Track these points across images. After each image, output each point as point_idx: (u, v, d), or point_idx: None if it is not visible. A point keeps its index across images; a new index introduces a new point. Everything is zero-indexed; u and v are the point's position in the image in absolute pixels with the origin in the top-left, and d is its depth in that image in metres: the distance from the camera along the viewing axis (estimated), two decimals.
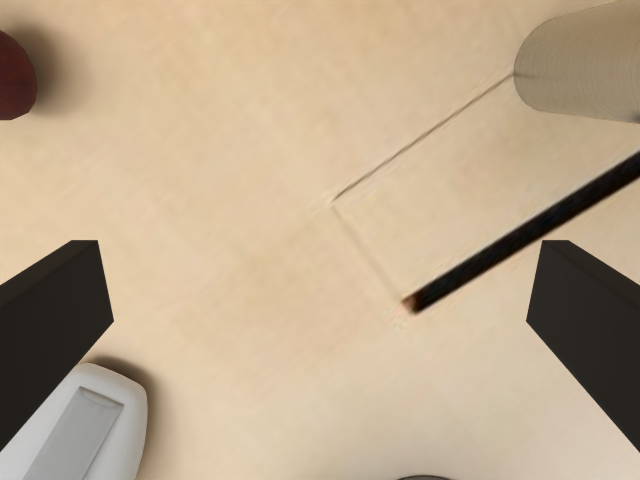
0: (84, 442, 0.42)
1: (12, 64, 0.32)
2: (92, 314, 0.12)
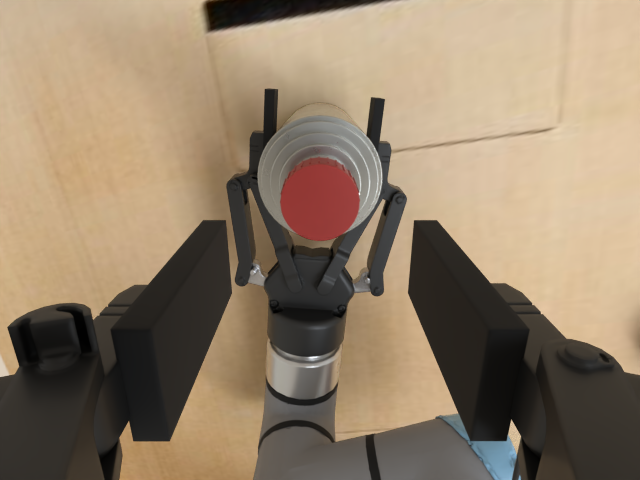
0: None
1: None
2: (224, 284, 0.13)
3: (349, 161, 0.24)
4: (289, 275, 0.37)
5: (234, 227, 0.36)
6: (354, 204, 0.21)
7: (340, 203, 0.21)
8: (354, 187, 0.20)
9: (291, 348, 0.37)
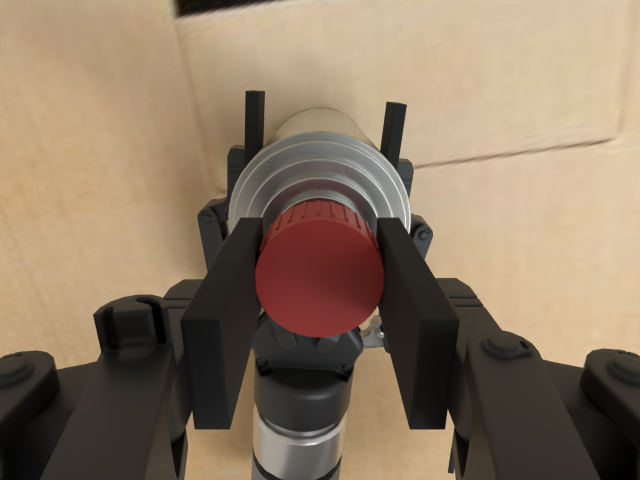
0: None
1: None
2: None
3: (364, 202, 0.15)
4: (281, 330, 0.29)
5: (209, 269, 0.28)
6: (376, 283, 0.13)
7: (354, 281, 0.12)
8: (377, 256, 0.12)
9: (283, 422, 0.29)
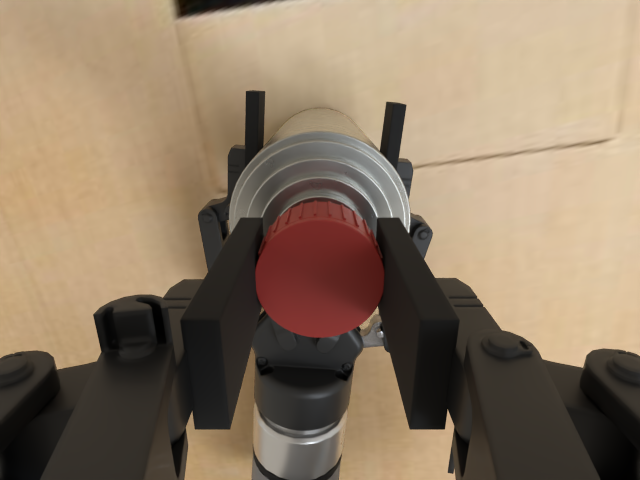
0: None
1: None
2: None
3: (364, 201, 0.16)
4: (281, 329, 0.29)
5: (209, 269, 0.28)
6: (304, 230, 0.12)
7: (309, 251, 0.12)
8: (276, 238, 0.12)
9: (283, 421, 0.29)
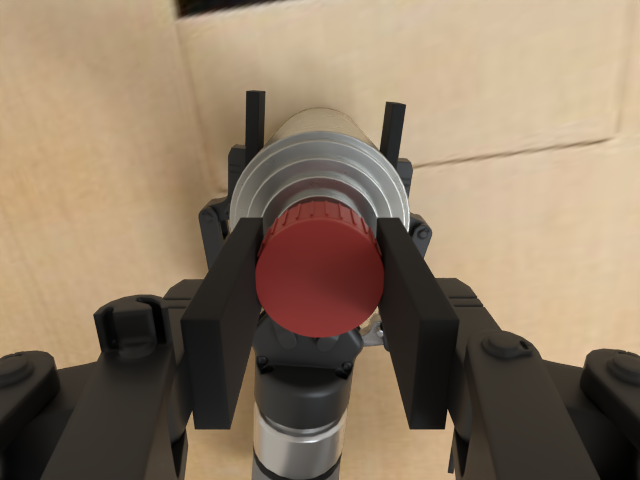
0: None
1: None
2: None
3: (364, 201, 0.16)
4: (281, 328, 0.29)
5: None
6: (271, 307, 0.13)
7: (291, 298, 0.13)
8: (287, 327, 0.13)
9: (283, 419, 0.29)
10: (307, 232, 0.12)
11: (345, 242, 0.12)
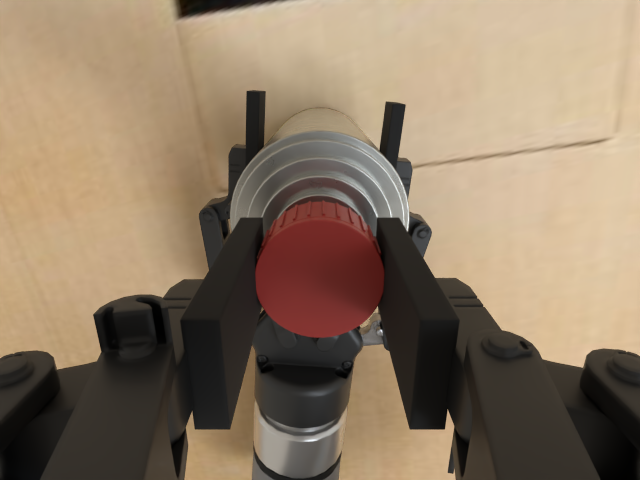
0: None
1: None
2: None
3: (363, 200, 0.16)
4: (281, 327, 0.29)
5: (210, 267, 0.28)
6: (358, 317, 0.13)
7: (344, 302, 0.13)
8: (378, 298, 0.13)
9: (283, 418, 0.29)
10: (272, 304, 0.13)
11: (271, 270, 0.12)
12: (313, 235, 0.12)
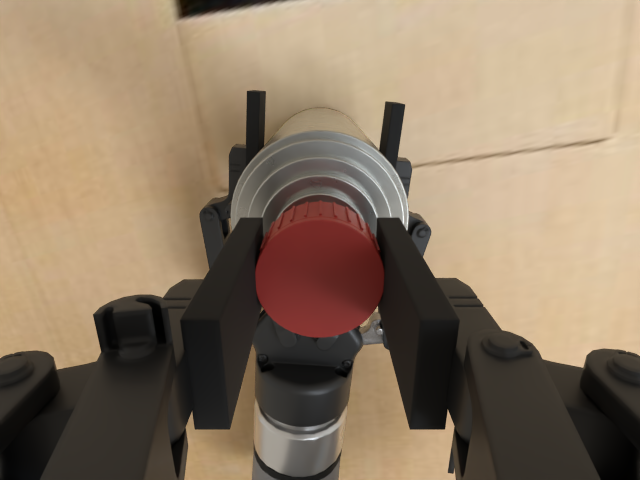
0: None
1: None
2: None
3: (363, 199, 0.16)
4: None
5: (210, 267, 0.28)
6: (348, 235, 0.12)
7: (335, 253, 0.12)
8: (321, 223, 0.12)
9: (283, 417, 0.30)
10: (355, 316, 0.13)
11: (320, 324, 0.13)
12: (274, 299, 0.13)
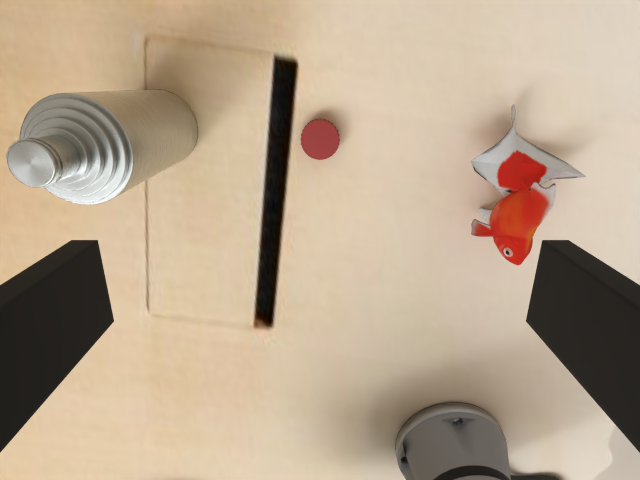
0: None
1: None
2: (92, 314, 0.12)
3: (84, 185, 0.28)
4: None
5: None
6: (328, 125, 0.42)
7: (324, 131, 0.43)
8: (320, 121, 0.42)
9: None
10: (330, 152, 0.43)
11: (320, 155, 0.43)
12: (306, 146, 0.43)
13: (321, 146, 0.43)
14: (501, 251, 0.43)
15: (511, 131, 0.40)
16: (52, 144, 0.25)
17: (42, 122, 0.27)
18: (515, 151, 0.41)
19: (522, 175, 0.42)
